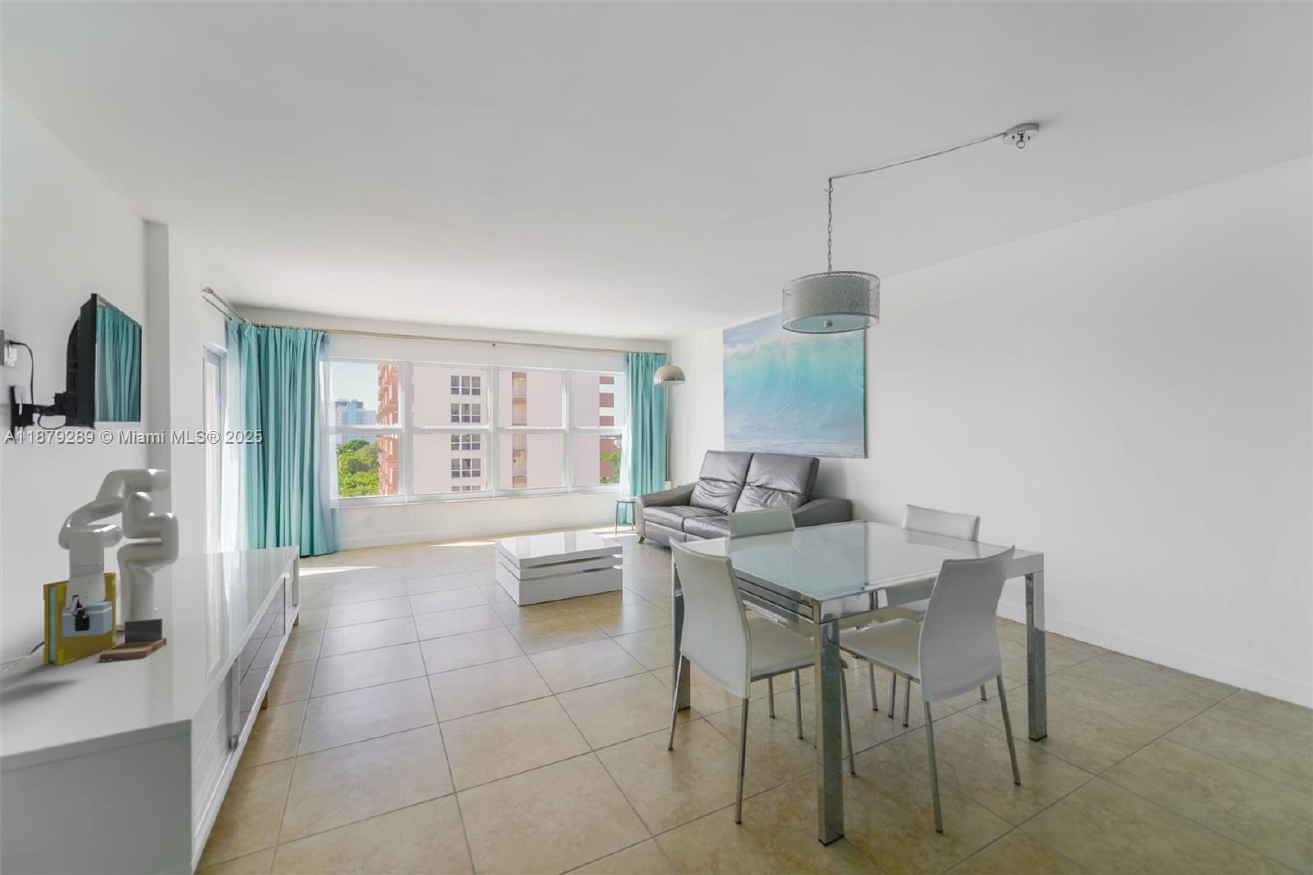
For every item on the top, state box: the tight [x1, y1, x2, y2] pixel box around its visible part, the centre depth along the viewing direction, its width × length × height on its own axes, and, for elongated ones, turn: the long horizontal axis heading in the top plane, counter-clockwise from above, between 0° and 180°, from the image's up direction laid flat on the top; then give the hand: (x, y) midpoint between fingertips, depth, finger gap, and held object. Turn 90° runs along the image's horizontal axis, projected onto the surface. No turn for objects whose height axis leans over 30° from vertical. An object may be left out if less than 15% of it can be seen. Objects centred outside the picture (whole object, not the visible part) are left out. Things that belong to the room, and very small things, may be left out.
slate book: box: [62, 601, 112, 637], centre depth 172 cm, size 4×10×9 cm, turn 107°
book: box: [42, 572, 117, 666], centre depth 183 cm, size 17×7×25 cm, turn 168°
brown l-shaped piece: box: [99, 618, 167, 662], centre depth 184 cm, size 12×12×9 cm
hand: (87, 627), depth 172 cm, fingers closed on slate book, 4 cm apart
